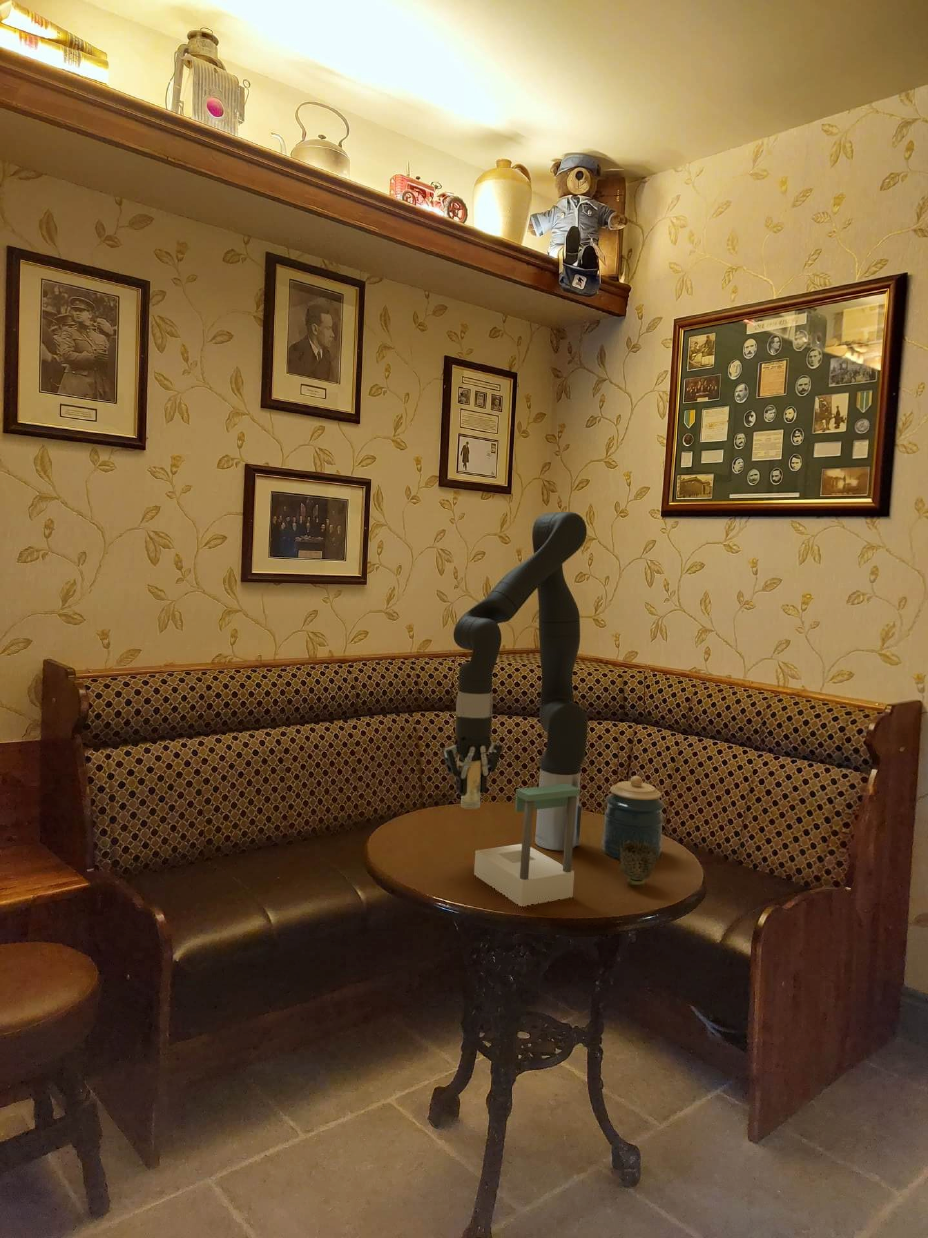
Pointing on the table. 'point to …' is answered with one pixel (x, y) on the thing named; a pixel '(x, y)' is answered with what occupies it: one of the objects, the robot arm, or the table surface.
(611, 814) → the canister
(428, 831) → the table surface
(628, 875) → the cup
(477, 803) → the brass peg
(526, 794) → the socket stand
